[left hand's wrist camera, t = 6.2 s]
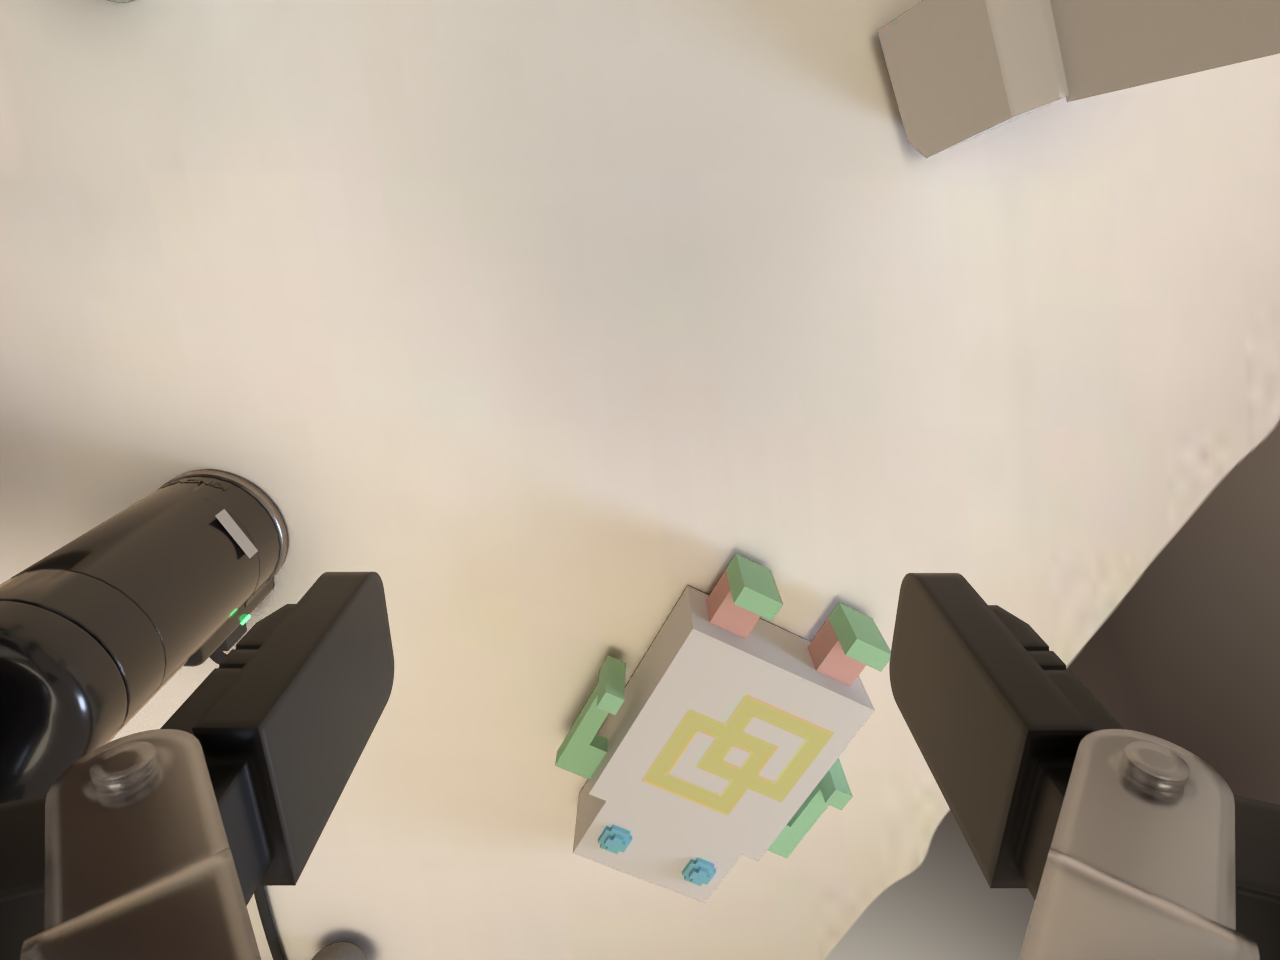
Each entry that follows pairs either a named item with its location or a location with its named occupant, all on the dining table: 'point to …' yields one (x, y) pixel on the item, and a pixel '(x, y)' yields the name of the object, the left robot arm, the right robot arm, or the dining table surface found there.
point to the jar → (120, 1)
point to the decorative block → (719, 736)
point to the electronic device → (1053, 55)
